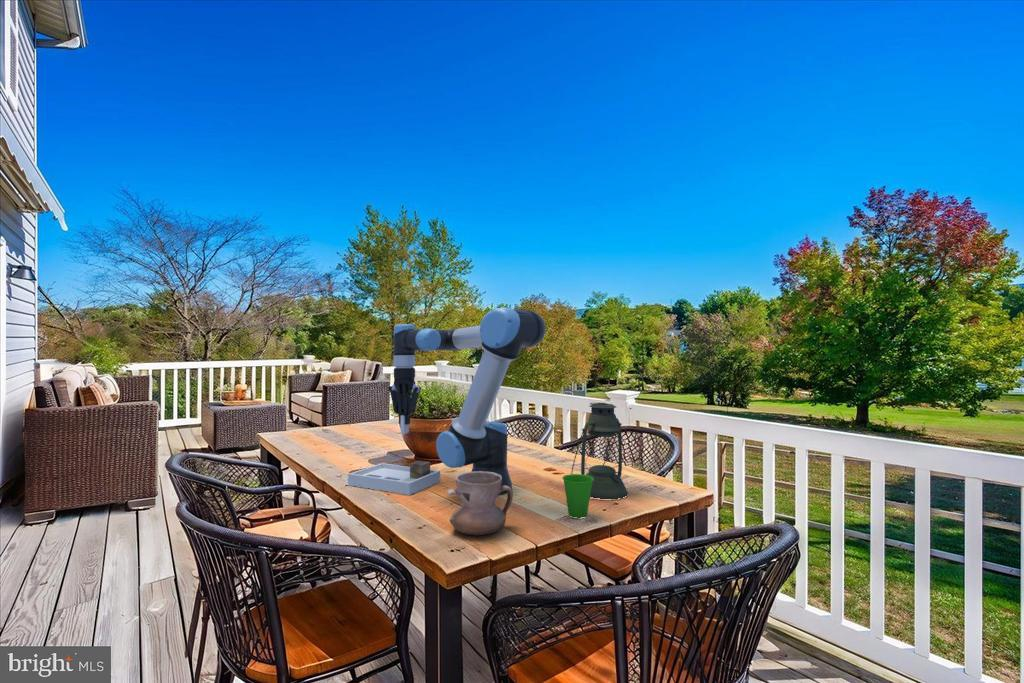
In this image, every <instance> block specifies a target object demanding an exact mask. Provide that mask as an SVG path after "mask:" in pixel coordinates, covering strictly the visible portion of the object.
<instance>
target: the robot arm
mask: <svg viewBox="0 0 1024 683" xmlns="http://www.w3.org/2000/svg"><path fill="white" fill-rule="evenodd" d="M545 334H546V323H545V320H544V318H543V317H542V316H541V315H540V314H539V313H537V312H536V311H534V310H529V309H520V308H512V307H496V308H494V309H491V310H489V311H488V312H487V313H486V314H485V315H484V316H483V318H482V319H481V322H480V325H474V326H469V327H460V328H453V329H435V328H426V327H425V328H421V329H418V328H417V329H416V326H415V325H414V324H410V323H409V324H408V323H405V324H404V323H402V324H398V323H397V324H395V325H394V327H393V335H392V336H393V367H394V368H393V378H394V381H393V385H391V386H388V388H387V389H388V391H389V392H390V397H391V402H392V408H393V409H392V410H393V412H394V414H397V415H398V424H399V425H400V435H406V434H409V433H410V430H409V429H410V428H409V426H410V424H411V415H413V414H415V413H416V408H417V404H418V398H419V395H420V392H421V390H422V387H421V386H417V385H416V382H415V378H416V368H415V366H416V352H417V351H419V352H421V351H424V352H431V351H433V352H434V351H438V352H439V351H440V352H441V351H444V352H445V351H450V352H451V351H452V352H457V351H462V350H466V349H474V348H475V349H478V348H482V350H483V354H482V356H481V358H480V360H479V364H478V366H477V369H476V371H475V373H474V376H473V378H472V382H471V384H470V386H469V389H468V392H467V395H466V397H465V400H464V402H463V404H462V408H461V410H460V412H459V415H458V416H457V417H455V418H453V419H452V420H451V423H450V425H449V427H448V430H444V431H442V432H441V433H439V434H438V436H437V438H436V443H435V444H436V445H435V446H436V452H437V455H438V458H439V459H440V461H441V462H442V464H444V466H446V467H448V468H451V469H456V468H462V467H466V466H469V465H472V468H471V471H470V472H475V471H477V472H478V471H483V472H494V473H496V474H500V475H501V476H502V482H501V486H504V485H506V486H509V487H510V488H511V489H513V481H512V479H511V476H510V471H509V469H508V427H507V425H506V424H505V423H503V422H498V421H490V420H489V421H488V419H489V415H490V413H491V412H492V411H491V410H492V408H493V406H494V403H495V400H496V399H497V396H498V393H499V390H500V388H501V386H502V384H503V381H504V378H505V376H506V374H507V372H508V371H507V370H508V369H509V367H510V364H511V362H513V361H515V360H517V359H518V357H519V355H520V352H521V350H522V349H523V348H532V347H535V346H537V345H538V344H540V343H541V342H542V341H543V339H544V337H545ZM506 494H507V491H502V492H501V493H500V494H498V496H500V495H506Z"/></svg>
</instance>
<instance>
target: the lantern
mask: <svg viewBox="0 0 1024 683" xmlns="http://www.w3.org/2000/svg"><path fill="white" fill-rule="evenodd" d="M588 407H590V409H591V412H590V413H589V415H588V421H587V422H586V423H585V425H584V427H583V428H582V429H581V431H582V432H581V436H580V439H579V442H578V444H577V445H578V446H577V448H576V451H575V455H574V459H573V463H572V466H571V467H572V468H571V473H570V474H573V471H574V466H575V462H576V458H577V454H578V450H579V448H580V444H581V456H580V458H581V462H580V464H581V465H580V472H581V473H580V474H582V475H588V476H591V477H593V479H594V481H593V482H592V488H591V494H590V497H593V498H600V499H618V498H623V497H625V496H627V494H628V495H629V491H628V490H627V488H626V485H625V484H624V481H623V480H622V478H621V477H622V471H623V445H622V444H623V443H622V442H623V440H622V427H621V426H622V423H621V422H620V421H619V419H618V418H617V415H616V414H615V408H617V406H616V405H614V404H613V403H606V402H594V403H593V402H590V403H589V406H588ZM588 435H589V436H593V437H601V438H605V437H607V438H610V437H614V439H613V441H612V443H611V444H609V445H606V446H605V445H604V446H603V447H601V448H599V449H597V450H595V449H594V448H593V447H591V446H590V444H588V442H587V436H588ZM616 438H617V441H616V442H615V440H616ZM581 441H582V442H581ZM616 443H617V445H618V450H617V453H618V456H617V457H618V460H615V459H612V458H610V457H609V455H610V452H611V450H612V449H613V445H615V444H616ZM586 444H587V445H588V447H589V448H590V449H592V450H593V452H592V453H590V454H588V456H587V457H586ZM609 446H610V449H609V450H608V454H607V455H604V454H602V453H600V452H598V451H600V450H602V449H604V448H607V447H609ZM593 453H597V454H600V455H602V456H603V457H605V460H604V462H603V463H602V464H597V465H596V464H595V465H592V466H591V467H589V468H588V467H587V460H588V458H589V457H590V456H591V455H592V454H593ZM608 459H610V460H612V461H613V462H616V463H617V464H618V465H617V466H610V465H605V464H606V462H607V460H608ZM585 468H586V470H587V471H588V472H587V473H585V472H586V471H585ZM615 468H618V469H617V470H616V469H615ZM627 497H628V496H627ZM623 499H624V498H623Z"/></svg>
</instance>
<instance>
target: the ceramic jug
mask: <svg viewBox="0 0 1024 683" xmlns="http://www.w3.org/2000/svg"><path fill="white" fill-rule="evenodd" d="M501 482H502V476H501V475H500V474H496V473H494V472H483V471H478V472H477V471H475V472H471V471H468V472H463V473H461V474H458V475H457V476H456V477H455V484H456V489H455V488H451V489H448V490H447V491H446V492H447V494H448V496H449V497H450V496H456V497H458V498H459V499H461V502H462V505H460V506H459V507H458V508H456V509H455V510H454V511H453V512H452V515H451V516H450V518H449V523H450V524H451V525H452V527H453V528H454V529H455V530H456V531H458V532H460V533H462V534H464V535H465V534H466V535H470V536H485V535H490V534H493V533H495V532H497V531H499V530H501V529H502V528H503V527H504V526H505V524H506V521H507V513H508V510H509V508H510V507H511V504H512V502H513V496H514V495H513V490H512V489H513V488H512V489H511V488H510V487H509V486H506V485H504V486H501ZM502 491H507V493H506V494H507V498H506V501H505V503H504V506H503V508H500V507H499V506H498V505H496V504H495V502H496V500H497V498H498V496H499V495H498V494H500V493H501V492H502Z"/></svg>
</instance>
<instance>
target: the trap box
mask: <svg viewBox="0 0 1024 683" xmlns="http://www.w3.org/2000/svg"><path fill="white" fill-rule="evenodd" d="M438 482H439V483H441V470H435V469H430V474H428V475H426V476H423V477H421V478H418V479H414V478H410V466H406V465H399V464H393V463H385V462H382V463H379V464H378V463H377V464H374V465H372V466H368V467H365V468H363V469H360V470H357V471H353V472H350V473H347V486H348V485H350V486H349V487H354V486H356V488H360V487H363V488H362V489H366V488H370V489H369V490H372V489H376V490H375V491H378V490H383V491H382V492H384V491H389V492H388V493H390V492H395V493H394V494H396V493H400V494H399V495H402V494H406V495H405V496H408V495H410V496H411V494H412V495H414V494H416V492H417V493H419V492H421V491H423V490H425V488H426V489H428V488H430V487H432V486H435V485H436V483H437V484H439V483H438ZM434 484H435V485H434ZM429 486H430V487H429ZM427 487H428V488H427ZM422 489H423V490H422ZM420 490H421V491H420ZM418 491H419V492H418ZM413 493H414V494H413Z"/></svg>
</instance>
